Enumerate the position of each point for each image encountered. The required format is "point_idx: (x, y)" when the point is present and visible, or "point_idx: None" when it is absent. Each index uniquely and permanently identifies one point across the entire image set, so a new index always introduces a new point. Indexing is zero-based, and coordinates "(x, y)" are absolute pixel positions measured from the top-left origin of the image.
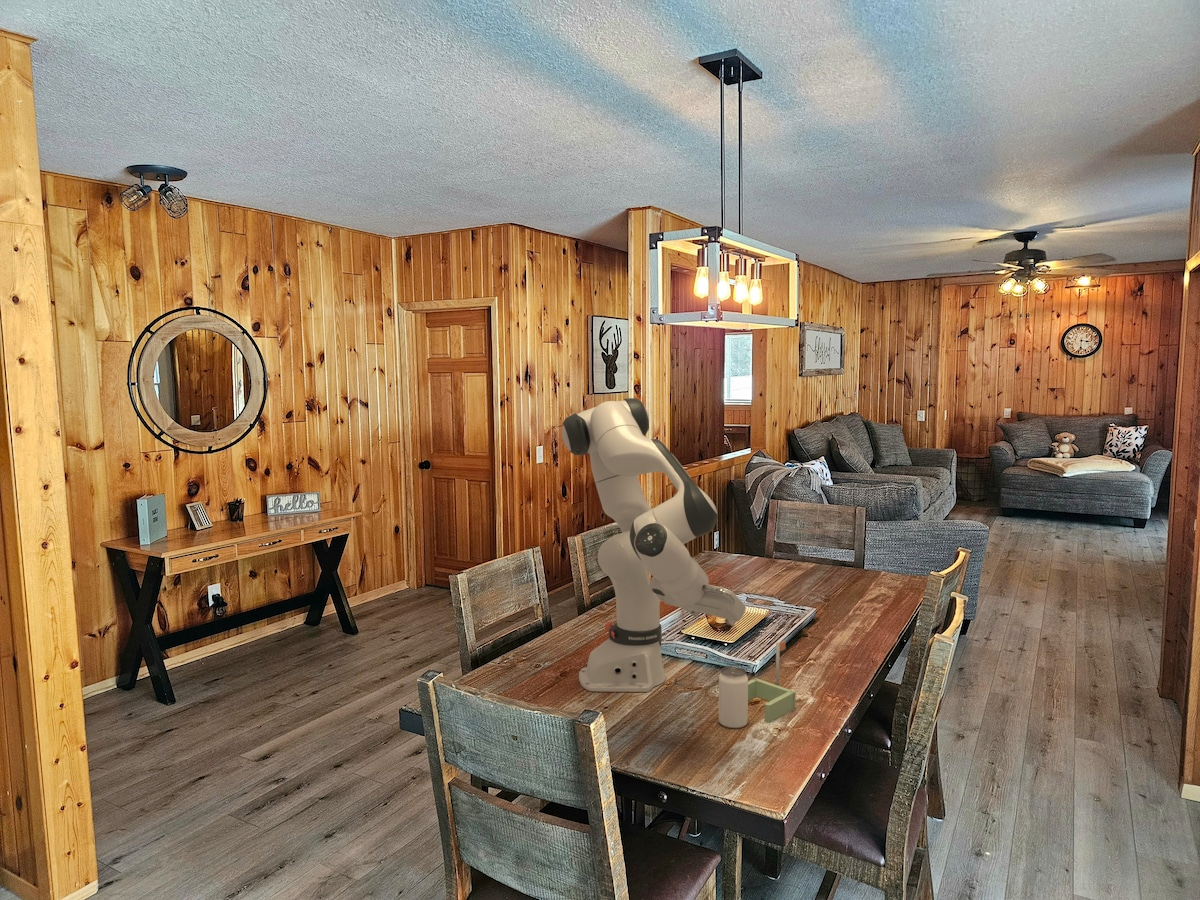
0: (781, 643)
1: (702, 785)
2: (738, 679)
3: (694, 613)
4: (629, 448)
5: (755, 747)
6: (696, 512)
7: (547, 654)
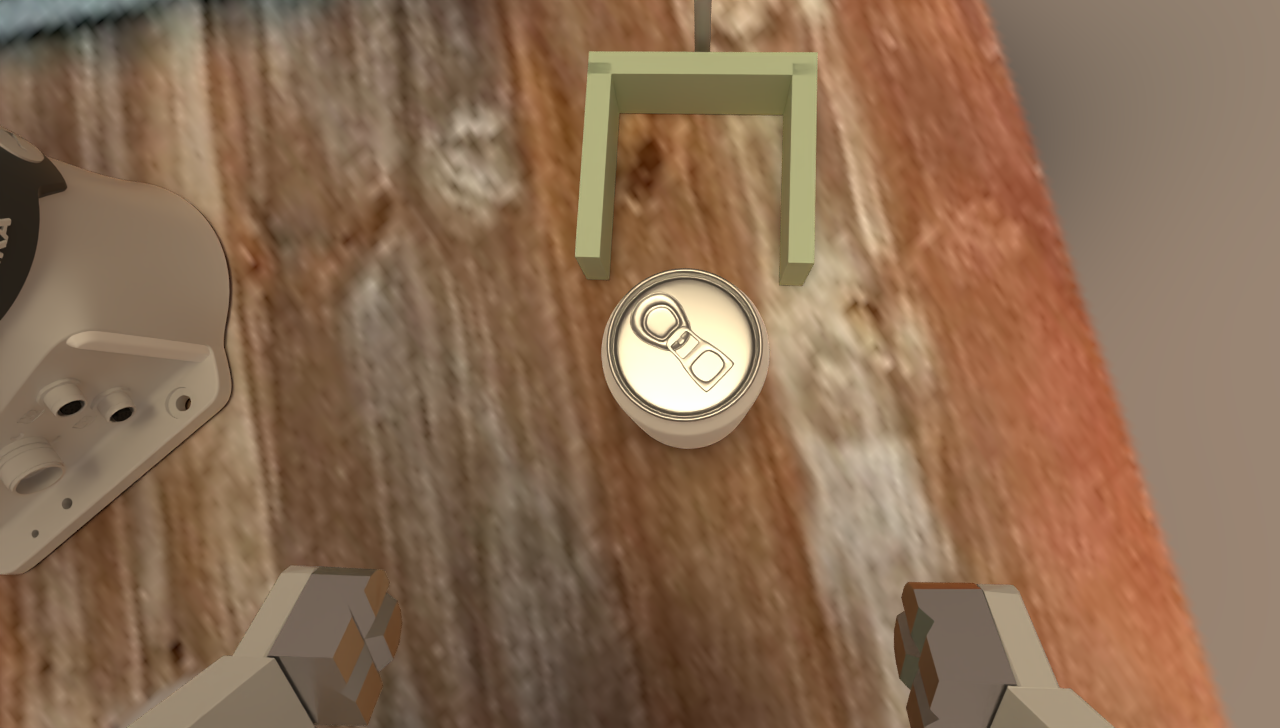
0: None
1: None
2: (750, 388)
3: (367, 716)
4: None
5: (891, 515)
6: None
7: None
